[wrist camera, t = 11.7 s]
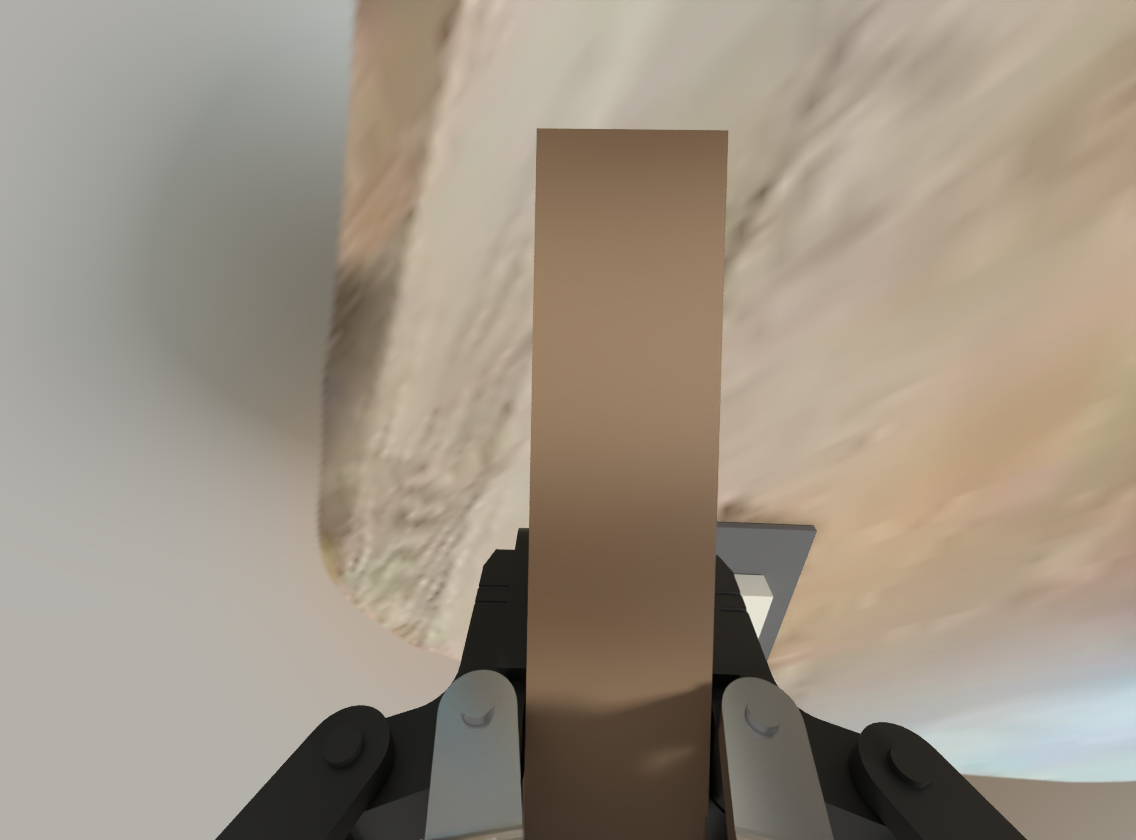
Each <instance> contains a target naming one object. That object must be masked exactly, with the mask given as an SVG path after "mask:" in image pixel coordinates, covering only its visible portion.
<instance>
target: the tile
mask: <svg viewBox="0 0 1136 840" xmlns="http://www.w3.org/2000/svg"><path fill="white" fill-rule="evenodd" d="M734 576H735V579H736V581H737V584H738V587H739V589H740V594H741V596H742V597H743V600H744V603H745V605H746V608H747V612H748V613H749V616H750V618H751V621H752V624H753V626H754V629H755V632H756V634H757V637H758V638H759V636H760V633H761V630H762V627H763V625H764V622H765V619H766V616H767V613H768V611H769V608H770V605H771V602H772V599H773V595H772V593H771V590H770V588H769V586H768V584H767V582H766V579H765V577H764V575H742V574H734Z"/></svg>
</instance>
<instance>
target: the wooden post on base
mask: <svg viewBox="0 0 1136 840" xmlns="http://www.w3.org/2000/svg"><path fill="white" fill-rule="evenodd" d="M727 153H728V131H720V130H629V129H539V128H537V151H536V203H535V255H534V307H533V359H532V411H531V463H530V515H529V567H528V619H527V671H526V723H525V772H524V778H523V781H522V782H523V803H524V828H525V840H703V835H704V825H705V817H708V803H709V769H710V735H711V700H712V666H713V632H714V598H715V564H716V529H717V495H718V461H719V427H720V393H721V358H722V324H723V290H724V256H725V222H726V187H727ZM421 840H425V838H423V839H421Z"/></svg>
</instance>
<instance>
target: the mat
mask: <svg viewBox="0 0 1136 840" xmlns="http://www.w3.org/2000/svg"><path fill="white" fill-rule="evenodd" d="M816 532H817V530H816V529H815V527H814V526H810V525H783V524H757V523H730V522H717V529H716V555H718V556H719V557H720V558H721V559H722V560H723V561H724V563H725V564H726V565H727V566H728V567H729V568H730V569H731V570H732V572H733V573H734V574H742V575H764V577H765V579H766V582H767V584H768V586H769V588H770V590H771V593H772V595H773V599H772V602H771V605H770V608H769V611H768V613H767V616H766V619H765V622H764V625H763V627H762V630H761V633H760V636H759V638H758V640H759V642H760V645H761V648H762V650H763V653H764V656H765V658H766V661H767V660H768V657H769V655H770V652H771V650H772V647H773V644H774V642H775V639H776V636H777V634H778V631H779V629H780V626H781V623H782V621H783V618H784V616H785V613H786V610H787V608H788V605H789V602H790V600H791V597H792V595H793V592H794V589H795V587H796V584H797V582H798V579H799V576H800V574H801V571H802V568H803V566H804V563H805V561H806V558H807V555H808V553H809V550H810V548H811V545H812V542H813V540H814V537H815V534H816Z"/></svg>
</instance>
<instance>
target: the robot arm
mask: <svg viewBox="0 0 1136 840" xmlns="http://www.w3.org/2000/svg"><path fill="white" fill-rule="evenodd" d="M528 567H529V528H519V530H518V534H517V540H516V546H515V550H499V549H496V550H495V551H494V553H493V554H492V555H491V557H490V558H489V559H488V561H487V562H486V563H485V564H484V566H483V570H482V574H481V579H480V583H479V589H478V591H477V596H476V600H475V605H474V609H473V613H472V617H471V621H470V626H469V630H468V634H467V638H466V643H465V647H464V651H463V655H462V660H461V664H460V667H459V671H458V673H457V675H456V677H455V679H454V681H453V682H452V684H451V685H450V686H449V687H448V689H447V690H446V691H445V692H444V693H443V694H441V696H439V697H438V698H436V699H435V700H434V701H432V702H430V703H428V704H427V705H424V706H422V707H419V708H416V709H413V710H410V711H407V712H404V713H400V714H397V715H394V716H391V717H388V718H385V717H384V716H383V714H382V713H381V712H380V711H378V710H377V709H375V708H373V707H370V706H363V705H358V706H351V707H348V708H345V709H342V710H340V711H338V712H336V713H334V714H333V715H331V716H329V717H328V718H327V719H325V720H324V721H323V722H322V723H321V724H320V725H319V726H318V727H317V728H316V729H315V730H314V731H313V732H312V733H311V734H310V735H309V736H308V737H307V739H306V740H305V741H304V742H303V743H302V744H301V745H300V746H299V748H298V749H297V750H296V751H295V752H294V753H293V754H292V755H291V756H290V757H289V758H288V760H287V761H286V762H285V763H284V764H283V765H282V766H281V767H280V769H279V770H278V771H277V772H276V773H275V774H274V775H273V776H272V777H271V779H270V780H269V781H268V782H267V783H266V784H265V785H264V786H263V787H262V788H261V790H260V791H259V792H258V793H257V794H256V795H255V796H254V797H253V799H251V801H250V802H249V803H248V804H247V805H246V806H245V807H244V808H243V809H242V811H241V812H240V813H239V814H238V815H237V816H236V818H234V819H233V821H232V822H231V823H230V824H229V825H228V826H227V827H226V828H225V829H224V830H223V832H222V833H221V834H220V835H219V836H218V837H217V838H216V839H215V840H421V839H423V838H425V840H525V828H524V803H523V782H522V781H523V778H524V772H525V723H526V671H527V619H528ZM703 840H1027V839H1026V838H1025V837H1024V836H1023V835H1022V834H1021V833H1020V832H1018V830H1017V829H1016V828H1015V827H1013V825H1012V824H1011V823H1009V822H1008V821H1007V820H1006V819H1005V818H1004V817H1003V816H1002V815H1001V814H1000V813H999V812H998V811H997V810H996V809H995V808H994V807H993V806H992V805H991V804H990V803H989V802H988V801H987V800H986V799H985V798H984V797H983V796H982V795H981V794H980V793H979V792H978V791H977V790H976V789H975V788H974V787H973V786H972V785H971V784H970V783H969V782H968V781H967V780H966V779H965V778H964V777H963V776H962V775H961V774H960V773H959V772H958V771H957V770H956V769H955V768H954V767H953V766H952V765H951V764H950V763H949V762H948V761H947V760H946V759H945V758H944V757H943V756H942V755H941V754H940V753H939V752H938V751H937V750H936V749H934V748H933V747H932V746H931V745H930V744H929V743H928V742H927V741H925V740H924V739H923V738H921V737H920V736H919V735H917V734H915V733H914V732H912V731H910V730H908V729H906V728H904V727H902V726H899V725H896V724H892V723H887V722H878V723H873V724H871V725H868V726H867V727H866V728H865V729H864V730H863V731H862V733H861V734H859V733H857V732H854V731H851V730H848V729H845V728H842V727H840V726H837V725H834V724H831V723H828V722H825V721H822V720H820V719H817V718H815V717H813V716H811V715H809V714H807V713H805V712H804V711H802V710H801V709H799V708H798V707H797V706H796V704H795V703H794V701H793V700H792V699H791V698H790V697H789V696H788V695H787V694H786V693H785V692H784V691H783V690H781V689H780V688H779V687H778V686H777V684H776V683H775V681H774V679H773V676H772V674H771V672H770V669H769V666H768V664H767V661H766V658H765V656H764V653H763V650H762V648H761V645H760V642H759V640H758V637H757V634H756V632H755V629H754V626H753V624H752V621H751V618H750V616H749V613H748V612H747V608H746V605H745V603H744V600H743V597H742V596H741V594H740V589H739V587H738V584H737V581H736V579H735V576H734V573H733V572H732V570H731V569H730V568H729V567H728V566H727V565H726V564H725V563H724V561H723V560H722V559H721V558H720V557H719V556H718V555H716V564H715V598H714V632H713V666H712V700H711V735H710V769H709V803H708V817H705V825H704V835H703Z"/></svg>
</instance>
